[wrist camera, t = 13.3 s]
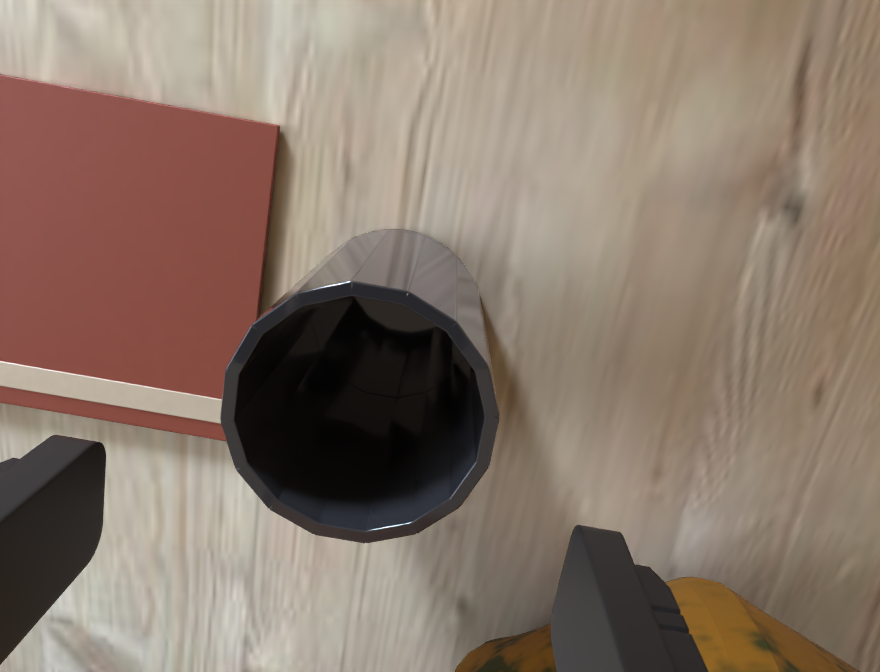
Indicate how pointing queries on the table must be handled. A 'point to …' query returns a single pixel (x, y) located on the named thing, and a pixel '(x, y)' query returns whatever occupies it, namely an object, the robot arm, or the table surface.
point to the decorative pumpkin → (709, 621)
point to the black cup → (366, 391)
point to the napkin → (127, 253)
